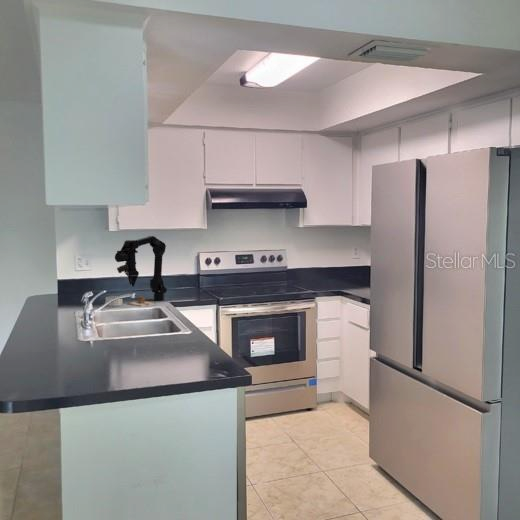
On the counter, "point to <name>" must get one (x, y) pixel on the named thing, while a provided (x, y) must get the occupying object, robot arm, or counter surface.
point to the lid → (141, 302)
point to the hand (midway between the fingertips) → (131, 285)
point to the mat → (139, 306)
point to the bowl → (117, 302)
